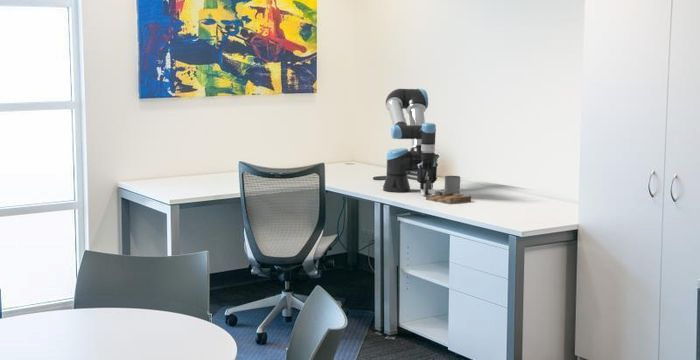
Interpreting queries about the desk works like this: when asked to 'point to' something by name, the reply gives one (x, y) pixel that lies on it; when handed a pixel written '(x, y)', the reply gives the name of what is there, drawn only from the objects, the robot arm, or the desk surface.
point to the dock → (449, 198)
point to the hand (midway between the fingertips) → (426, 194)
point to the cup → (452, 184)
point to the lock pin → (428, 188)
